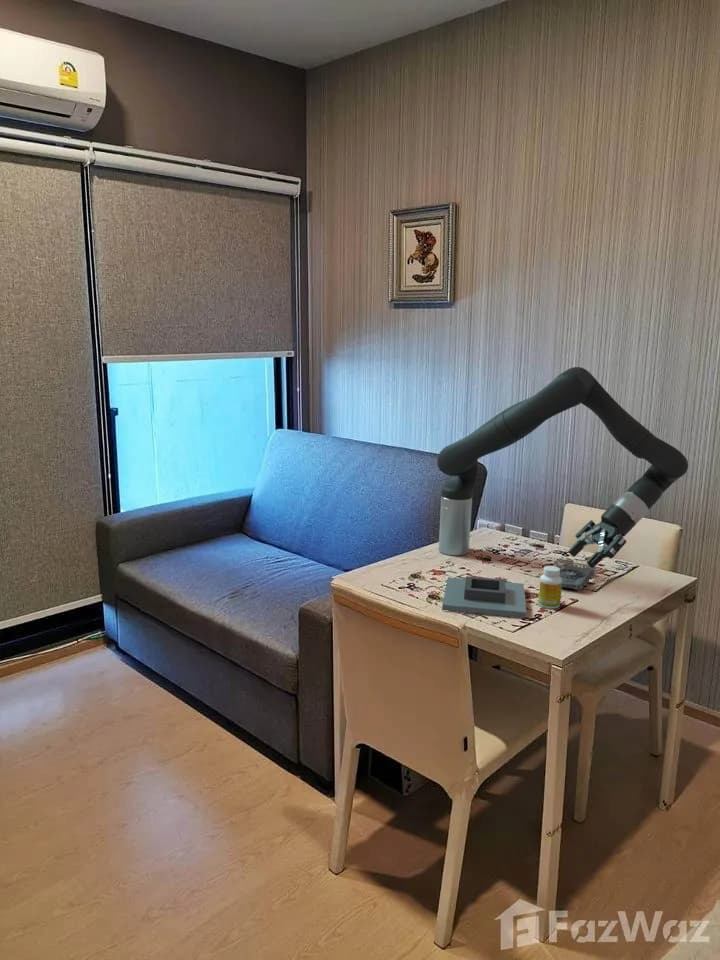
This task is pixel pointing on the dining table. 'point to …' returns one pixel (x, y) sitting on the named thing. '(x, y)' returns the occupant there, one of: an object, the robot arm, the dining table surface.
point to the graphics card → (575, 574)
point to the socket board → (485, 596)
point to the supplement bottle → (550, 588)
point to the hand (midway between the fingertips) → (579, 559)
